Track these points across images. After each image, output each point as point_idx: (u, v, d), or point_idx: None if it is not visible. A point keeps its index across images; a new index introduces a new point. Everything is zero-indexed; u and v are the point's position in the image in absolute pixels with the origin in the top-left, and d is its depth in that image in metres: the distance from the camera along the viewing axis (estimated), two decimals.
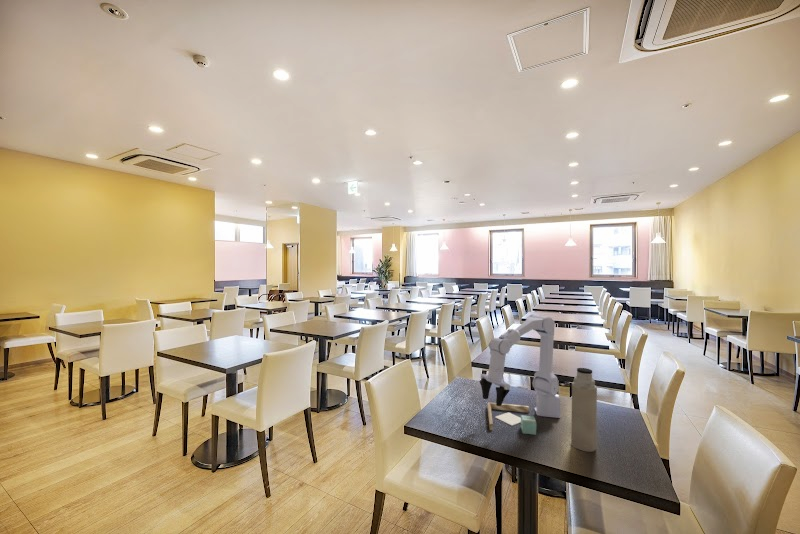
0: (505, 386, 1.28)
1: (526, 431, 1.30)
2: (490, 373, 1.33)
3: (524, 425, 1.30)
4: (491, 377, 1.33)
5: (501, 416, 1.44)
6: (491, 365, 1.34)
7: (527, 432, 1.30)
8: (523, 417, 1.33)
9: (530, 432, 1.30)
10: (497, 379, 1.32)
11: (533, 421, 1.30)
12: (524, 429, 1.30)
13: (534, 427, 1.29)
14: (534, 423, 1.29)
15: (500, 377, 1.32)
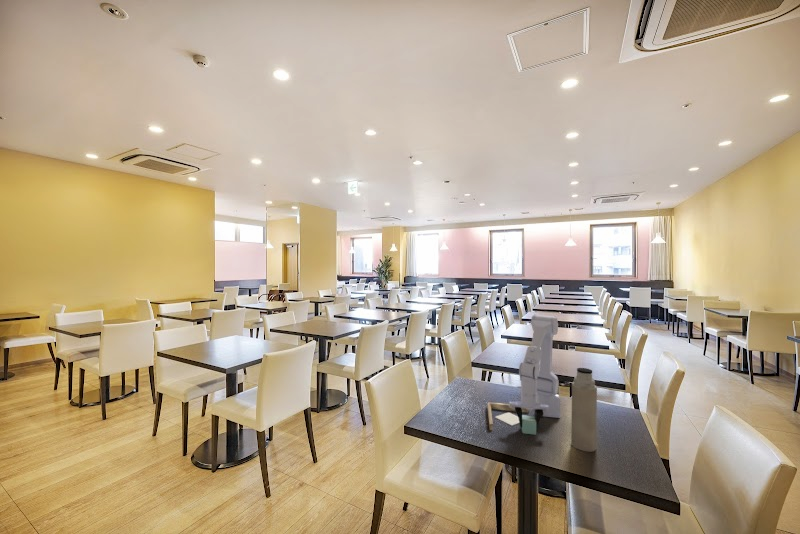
0: (547, 408, 1.30)
1: (526, 431, 1.30)
2: (529, 401, 1.29)
3: (524, 425, 1.30)
4: (531, 405, 1.29)
5: (501, 416, 1.44)
6: (526, 392, 1.30)
7: (527, 432, 1.30)
8: (523, 417, 1.33)
9: (530, 432, 1.30)
10: (536, 404, 1.30)
11: (533, 421, 1.30)
12: (524, 429, 1.30)
13: (534, 427, 1.29)
14: (534, 423, 1.29)
15: None
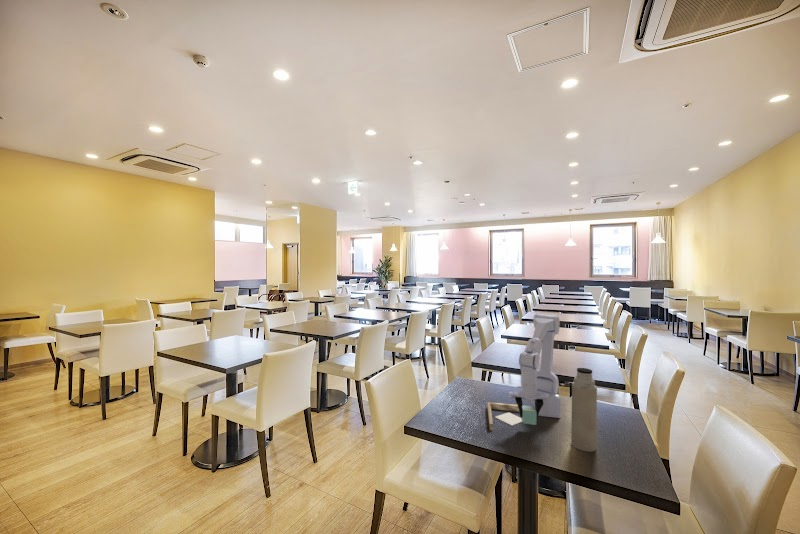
0: (547, 398, 1.30)
1: (527, 421, 1.30)
2: (529, 391, 1.29)
3: (524, 415, 1.30)
4: (531, 394, 1.29)
5: (501, 416, 1.44)
6: (526, 382, 1.30)
7: (527, 422, 1.30)
8: (523, 407, 1.33)
9: (530, 422, 1.30)
10: (536, 394, 1.30)
11: (533, 411, 1.30)
12: (524, 419, 1.30)
13: (534, 417, 1.29)
14: (534, 413, 1.29)
15: None
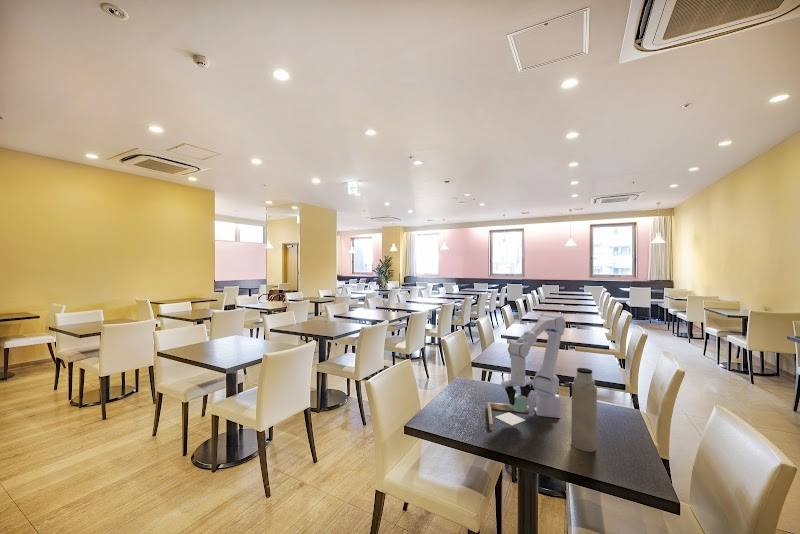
0: (533, 382, 1.39)
1: (519, 408, 1.35)
2: (522, 378, 1.35)
3: (518, 403, 1.35)
4: (523, 381, 1.36)
5: (501, 416, 1.44)
6: (513, 369, 1.37)
7: (520, 409, 1.35)
8: None
9: (522, 408, 1.35)
10: (525, 380, 1.38)
11: (524, 397, 1.36)
12: (517, 407, 1.35)
13: (525, 403, 1.36)
14: (525, 399, 1.36)
15: None
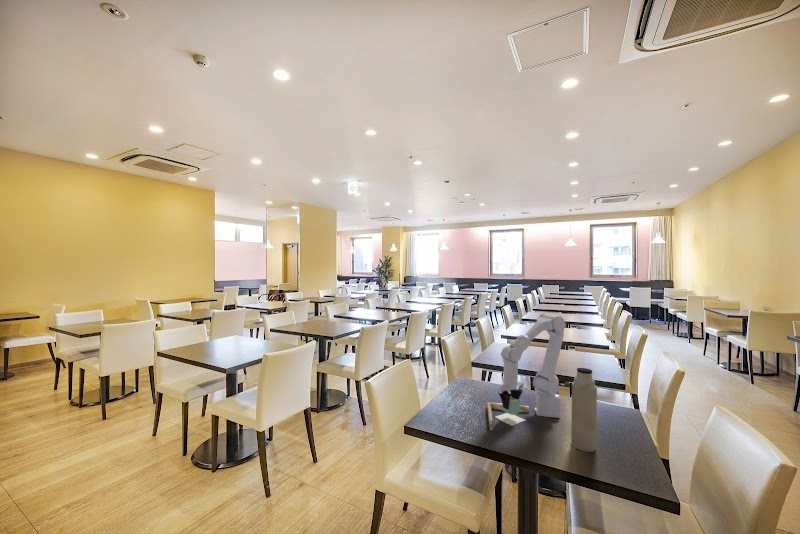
0: (522, 385, 1.45)
1: (514, 411, 1.39)
2: (515, 382, 1.40)
3: (512, 407, 1.39)
4: (516, 385, 1.40)
5: (501, 416, 1.44)
6: (505, 373, 1.41)
7: (514, 412, 1.39)
8: None
9: (516, 411, 1.40)
10: None
11: (517, 400, 1.41)
12: (512, 410, 1.39)
13: (518, 406, 1.41)
14: (518, 402, 1.41)
15: None
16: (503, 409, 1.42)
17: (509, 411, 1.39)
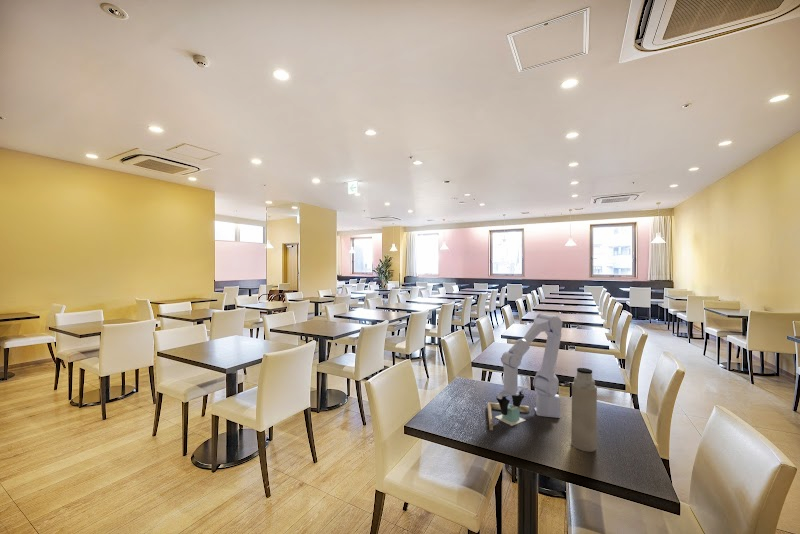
0: (522, 390, 1.45)
1: (514, 419, 1.39)
2: (515, 387, 1.40)
3: (512, 414, 1.39)
4: (516, 390, 1.40)
5: (501, 416, 1.44)
6: (504, 379, 1.41)
7: (514, 420, 1.39)
8: None
9: (516, 419, 1.40)
10: None
11: (517, 408, 1.41)
12: (512, 418, 1.39)
13: (518, 413, 1.41)
14: (518, 409, 1.41)
15: None
16: (503, 416, 1.42)
17: (509, 418, 1.39)
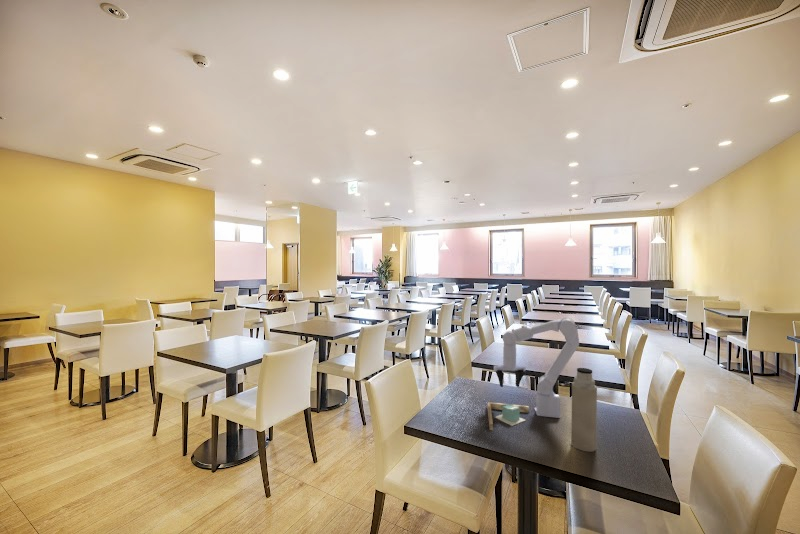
0: (524, 368, 1.55)
1: (514, 419, 1.39)
2: (511, 363, 1.53)
3: (512, 414, 1.39)
4: (513, 366, 1.53)
5: (501, 416, 1.44)
6: None
7: (514, 420, 1.39)
8: (507, 407, 1.41)
9: (516, 419, 1.40)
10: (515, 366, 1.54)
11: (517, 408, 1.41)
12: (512, 418, 1.39)
13: (518, 413, 1.41)
14: (518, 409, 1.41)
15: None
16: (503, 416, 1.42)
17: (509, 418, 1.39)
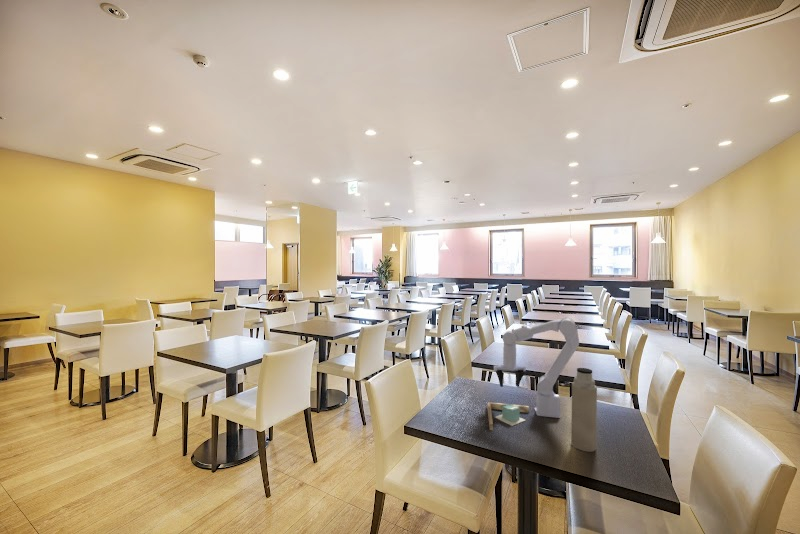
0: (524, 368, 1.55)
1: (514, 419, 1.39)
2: (511, 363, 1.53)
3: (512, 414, 1.39)
4: (513, 366, 1.53)
5: (501, 416, 1.44)
6: None
7: (514, 420, 1.39)
8: (507, 407, 1.41)
9: (516, 419, 1.40)
10: (515, 366, 1.55)
11: (517, 408, 1.41)
12: (512, 418, 1.39)
13: (518, 413, 1.41)
14: (518, 409, 1.41)
15: None
16: (503, 416, 1.42)
17: (509, 418, 1.39)
